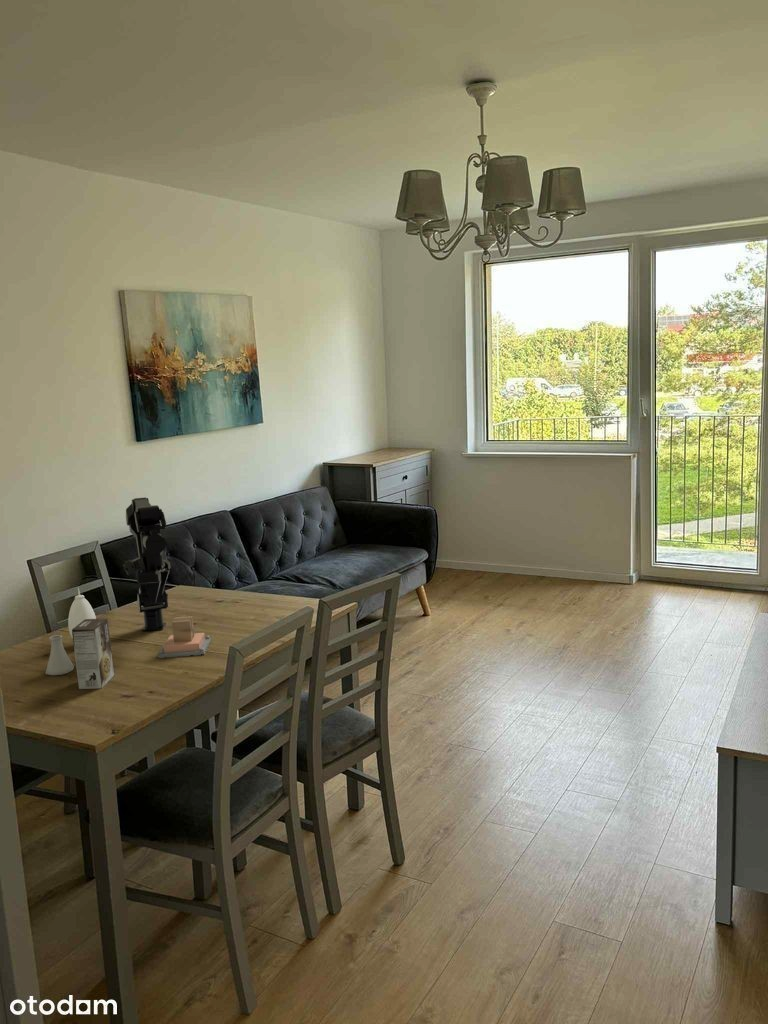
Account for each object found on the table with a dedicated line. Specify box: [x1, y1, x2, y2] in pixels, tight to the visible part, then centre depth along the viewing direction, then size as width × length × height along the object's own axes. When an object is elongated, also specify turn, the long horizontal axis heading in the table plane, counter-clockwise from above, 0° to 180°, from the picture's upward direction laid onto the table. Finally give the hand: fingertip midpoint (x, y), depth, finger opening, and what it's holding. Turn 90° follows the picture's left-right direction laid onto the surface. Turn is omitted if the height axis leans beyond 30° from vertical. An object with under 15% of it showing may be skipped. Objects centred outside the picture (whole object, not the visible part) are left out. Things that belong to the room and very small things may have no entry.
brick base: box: [157, 632, 212, 659], centre depth 238 cm, size 13×13×3 cm
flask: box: [45, 634, 75, 676], centre depth 224 cm, size 7×7×10 cm
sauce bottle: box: [67, 587, 97, 640], centre depth 246 cm, size 8×8×18 cm
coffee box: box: [72, 618, 115, 690], centre depth 213 cm, size 9×6×16 cm
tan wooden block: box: [171, 615, 195, 642], centre depth 237 cm, size 5×5×6 cm
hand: (156, 598), depth 245 cm, fingers open, 9 cm apart
